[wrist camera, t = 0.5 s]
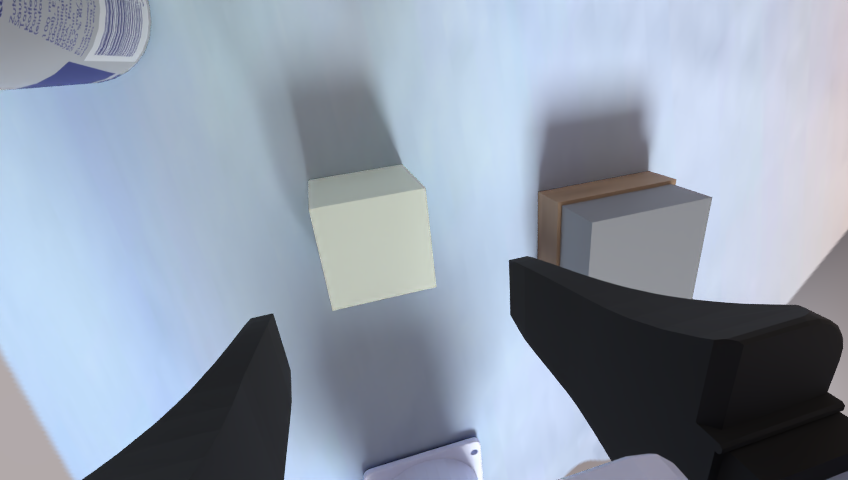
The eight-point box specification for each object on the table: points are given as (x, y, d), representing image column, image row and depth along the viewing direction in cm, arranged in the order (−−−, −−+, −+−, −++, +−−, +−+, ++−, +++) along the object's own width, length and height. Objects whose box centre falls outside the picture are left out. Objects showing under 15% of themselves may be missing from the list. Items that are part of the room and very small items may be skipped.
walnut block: (630, 273, 27) (659, 291, 25) (533, 296, 26) (554, 318, 24) (642, 169, 24) (676, 179, 22) (534, 189, 23) (558, 202, 21)
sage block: (412, 246, 22) (436, 287, 18) (327, 264, 21) (332, 310, 17) (401, 163, 20) (425, 188, 16) (308, 179, 19) (308, 209, 15)
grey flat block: (655, 288, 25) (689, 310, 23) (557, 313, 24) (584, 339, 21) (671, 184, 22) (711, 197, 20) (561, 205, 21) (592, 222, 19)
